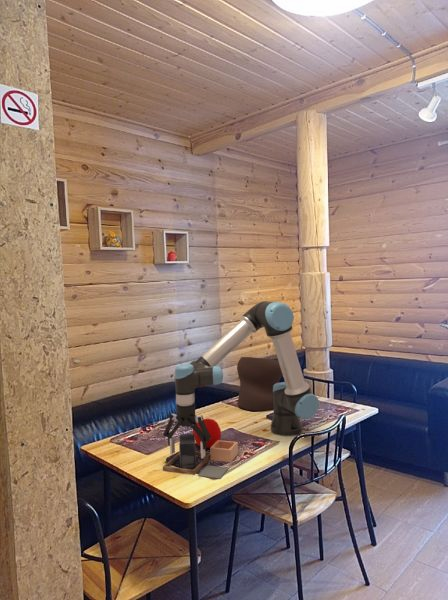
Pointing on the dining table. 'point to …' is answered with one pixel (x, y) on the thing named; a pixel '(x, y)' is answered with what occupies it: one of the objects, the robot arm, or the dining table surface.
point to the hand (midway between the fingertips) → (187, 455)
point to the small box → (187, 451)
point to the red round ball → (213, 431)
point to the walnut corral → (185, 471)
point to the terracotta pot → (224, 451)
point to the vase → (257, 383)
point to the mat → (213, 472)
